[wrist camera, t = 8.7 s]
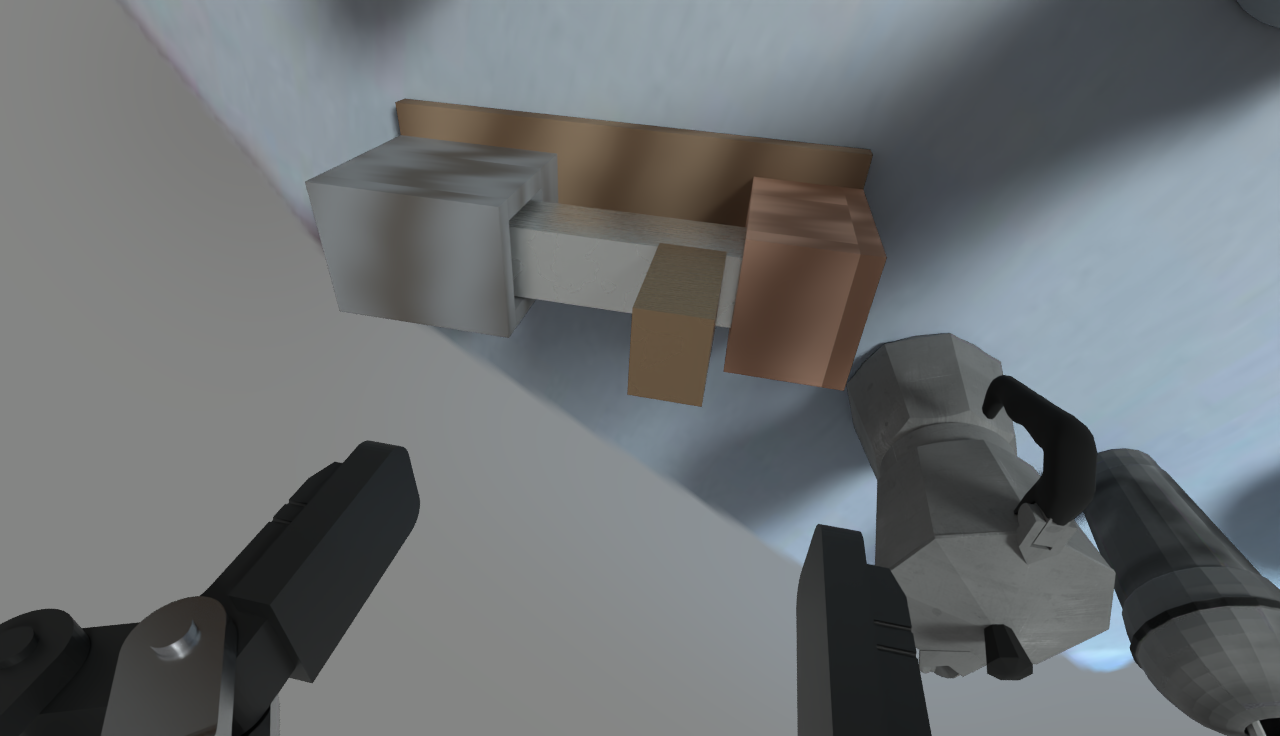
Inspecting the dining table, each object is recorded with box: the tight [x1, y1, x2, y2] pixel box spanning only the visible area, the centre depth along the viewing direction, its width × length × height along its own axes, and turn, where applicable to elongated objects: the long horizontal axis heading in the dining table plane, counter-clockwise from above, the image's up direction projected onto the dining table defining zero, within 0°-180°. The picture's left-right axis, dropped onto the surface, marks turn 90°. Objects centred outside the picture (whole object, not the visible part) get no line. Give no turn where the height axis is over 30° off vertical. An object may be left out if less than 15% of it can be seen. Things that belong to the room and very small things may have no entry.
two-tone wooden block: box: [509, 200, 746, 407], centre depth 27 cm, size 17×4×10 cm, turn 87°
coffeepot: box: [846, 333, 1116, 680], centre depth 29 cm, size 15×9×18 cm, turn 176°
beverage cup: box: [1083, 449, 1280, 736], centre depth 30 cm, size 7×7×20 cm
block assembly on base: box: [305, 99, 887, 391], centre depth 31 cm, size 25×10×9 cm, turn 87°
